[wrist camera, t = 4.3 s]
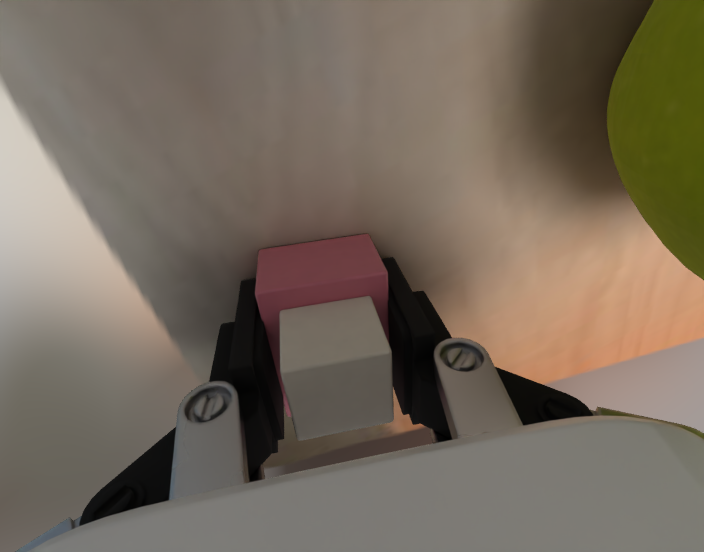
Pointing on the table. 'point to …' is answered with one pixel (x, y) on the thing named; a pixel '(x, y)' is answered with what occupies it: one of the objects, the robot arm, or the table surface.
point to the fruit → (664, 126)
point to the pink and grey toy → (328, 333)
